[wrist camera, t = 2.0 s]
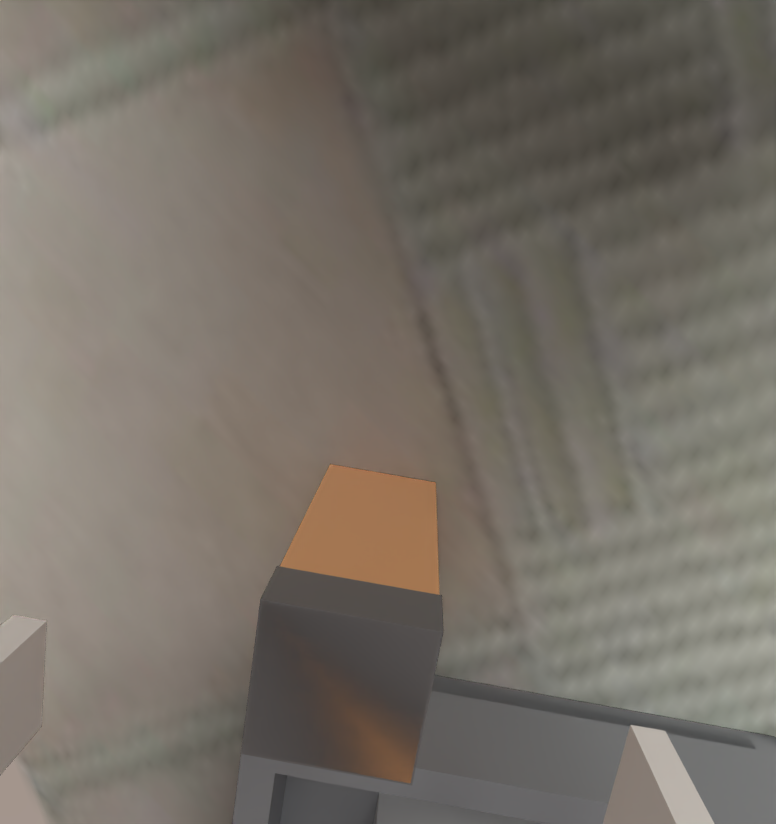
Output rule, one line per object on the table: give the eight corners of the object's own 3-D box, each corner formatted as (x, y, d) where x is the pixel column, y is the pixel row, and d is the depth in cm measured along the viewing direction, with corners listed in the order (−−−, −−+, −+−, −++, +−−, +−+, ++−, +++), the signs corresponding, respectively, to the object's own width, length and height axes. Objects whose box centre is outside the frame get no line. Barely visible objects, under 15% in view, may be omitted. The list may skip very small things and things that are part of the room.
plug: (329, 462, 24) (260, 599, 14) (437, 481, 24) (443, 631, 14) (314, 562, 25) (241, 754, 15) (418, 580, 25) (411, 785, 15)
